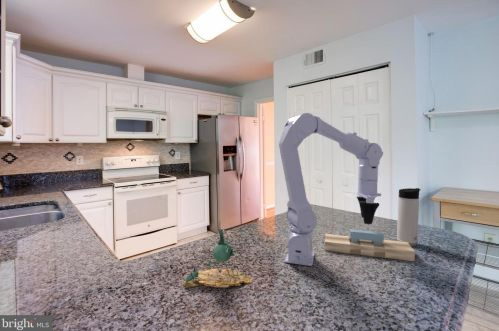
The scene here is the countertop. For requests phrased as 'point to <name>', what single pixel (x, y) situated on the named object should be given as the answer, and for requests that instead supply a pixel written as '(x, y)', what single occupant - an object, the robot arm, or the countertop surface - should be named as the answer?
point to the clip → (367, 236)
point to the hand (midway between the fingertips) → (366, 220)
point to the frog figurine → (217, 276)
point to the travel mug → (408, 215)
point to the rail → (370, 247)
